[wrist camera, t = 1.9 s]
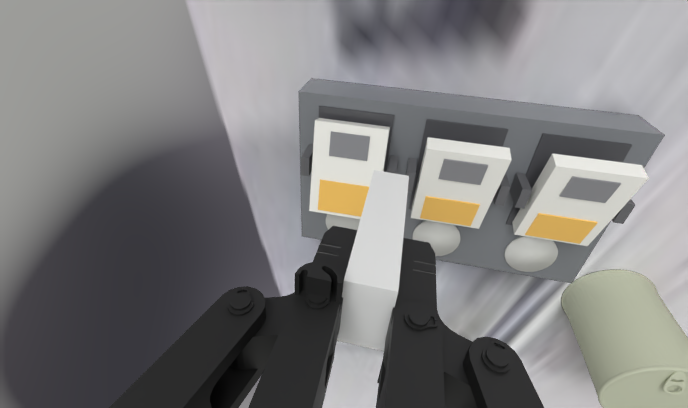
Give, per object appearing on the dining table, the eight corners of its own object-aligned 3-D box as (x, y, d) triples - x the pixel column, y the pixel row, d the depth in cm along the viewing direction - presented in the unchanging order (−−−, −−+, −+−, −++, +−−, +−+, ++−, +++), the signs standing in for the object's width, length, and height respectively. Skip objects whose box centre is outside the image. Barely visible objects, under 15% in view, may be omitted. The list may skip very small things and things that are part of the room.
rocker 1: (319, 117, 30) (314, 120, 28) (390, 127, 29) (388, 130, 27) (313, 205, 33) (308, 211, 31) (377, 215, 32) (375, 222, 31)
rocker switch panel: (311, 78, 33) (287, 102, 27) (638, 115, 29) (687, 151, 24) (311, 214, 42) (293, 253, 37) (559, 256, 38) (581, 305, 33)
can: (670, 272, 37) (756, 383, 27) (637, 327, 42) (699, 438, 32) (572, 265, 39) (620, 367, 29) (552, 319, 44) (587, 421, 34)
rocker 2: (552, 153, 26) (556, 167, 25) (641, 165, 25) (649, 179, 24) (512, 222, 32) (514, 235, 31) (583, 233, 31) (587, 247, 30)
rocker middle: (427, 137, 27) (426, 149, 26) (509, 147, 26) (511, 161, 25) (411, 206, 33) (410, 218, 32) (478, 216, 32) (478, 229, 31)
